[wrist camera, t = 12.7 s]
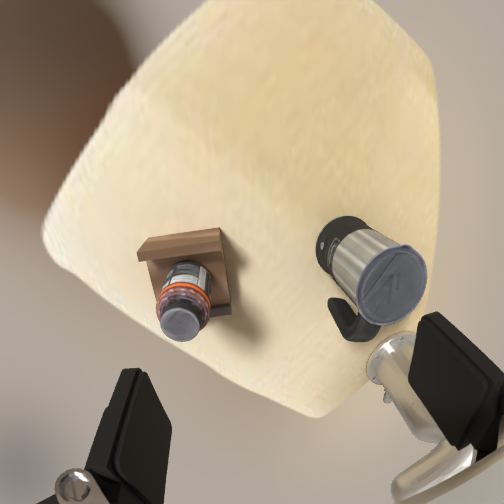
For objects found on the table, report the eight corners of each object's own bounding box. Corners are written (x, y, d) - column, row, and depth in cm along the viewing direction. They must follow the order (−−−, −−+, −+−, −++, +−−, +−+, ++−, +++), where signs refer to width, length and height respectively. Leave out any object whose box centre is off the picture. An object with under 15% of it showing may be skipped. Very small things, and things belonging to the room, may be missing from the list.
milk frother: (313, 217, 41) (357, 252, 27) (408, 208, 42) (472, 235, 28) (315, 307, 46) (349, 368, 32) (402, 291, 47) (452, 337, 33)
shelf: (231, 303, 44) (232, 325, 39) (165, 311, 44) (158, 333, 38) (219, 227, 40) (219, 240, 35) (147, 237, 40) (136, 252, 34)
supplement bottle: (206, 304, 41) (202, 356, 30) (163, 293, 40) (146, 342, 29) (217, 265, 39) (216, 309, 28) (172, 253, 38) (154, 293, 27)
